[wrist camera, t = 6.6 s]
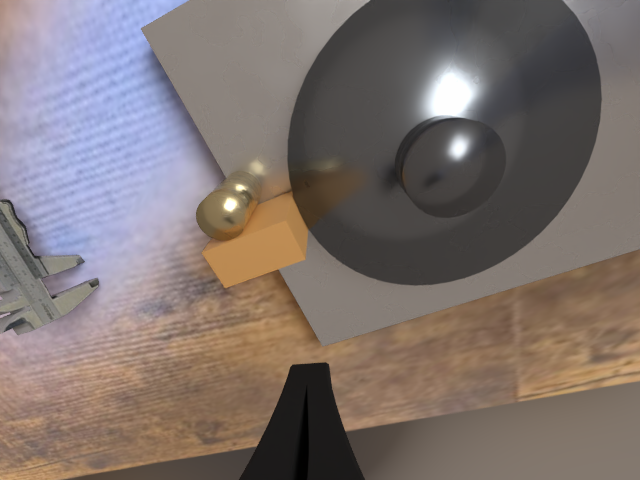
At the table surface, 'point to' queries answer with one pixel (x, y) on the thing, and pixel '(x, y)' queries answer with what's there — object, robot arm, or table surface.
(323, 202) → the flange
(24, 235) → the caliper
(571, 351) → the table surface
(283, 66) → the base plate
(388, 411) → the table surface
